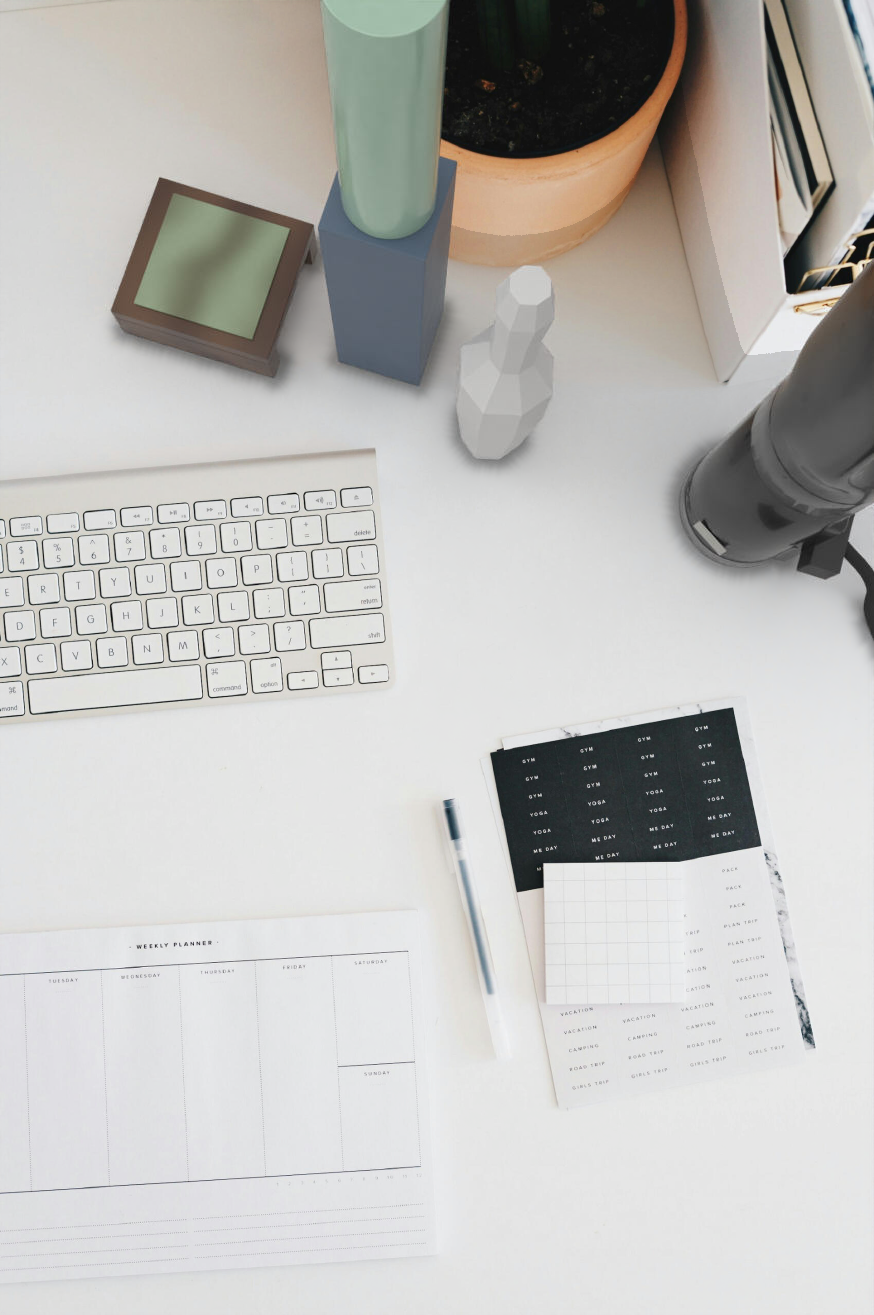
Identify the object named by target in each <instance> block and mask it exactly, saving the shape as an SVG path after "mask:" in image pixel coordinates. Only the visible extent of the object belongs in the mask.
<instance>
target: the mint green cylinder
mask: <svg viewBox="0 0 874 1315" xmlns="http://www.w3.org/2000/svg"><path fill="white" fill-rule="evenodd" d="M318 1H319V9H320V10H319V11H320V19H321V20H320V21H321V28H322V40H323V47H324V57H325V66H326V76H327V85H328V94H329V102H330V104H329V105H330V112H331V122H332V132H333V142H334V150H335V151H334V152H335V159H336V171H337V170H338V179H339V188H340V197H341V203H342V207H343V209H344V212H345V214H346V215H347V217H348V218H349V220H350V221H351V222H352V223H353V224H354V225H355V226H356V227H357V228H358V229H359V230H361V231H362V232H364V233H366V234H368V235H370V236H373V237H376V238H380V239H399V238H403V237H406V236H409V235H411V234H413V233H415V232H417V231H418V230H419V229H421V228H422V227H423V226H424V225H425V224H426V223H427V222H428V220H429V219H430V217H431V216H432V214H433V212H434V209H435V206H436V202H437V191H438V175H439V160H440V156H441V142H442V129H443V114H444V109H443V108H444V98H445V82H446V66H447V50H448V34H449V20H450V19H449V18H450V7H451V6H450V5H451V4H450V3H451V0H318Z"/></svg>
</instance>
